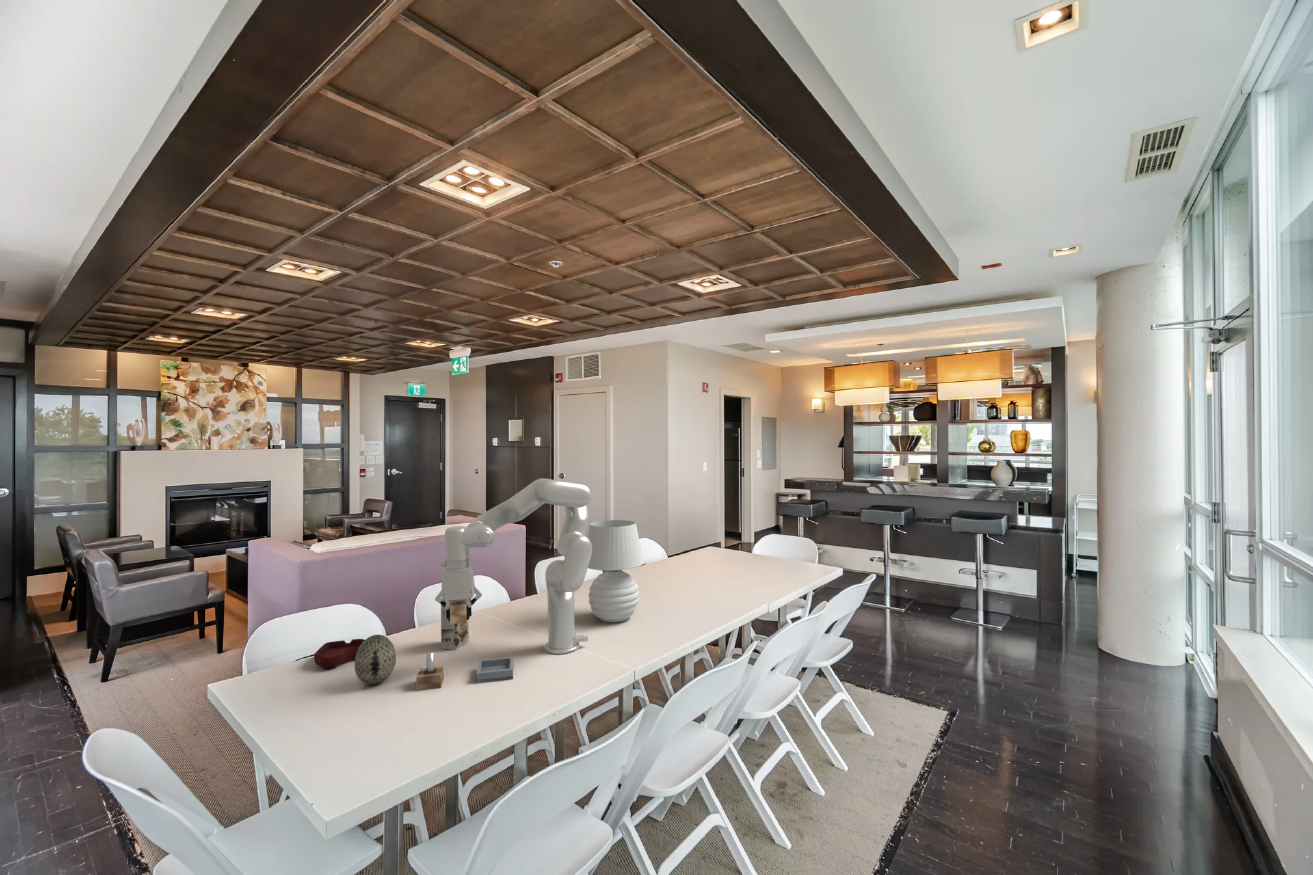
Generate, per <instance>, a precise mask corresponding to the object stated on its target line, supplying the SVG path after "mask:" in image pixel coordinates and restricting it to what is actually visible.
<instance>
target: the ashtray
mask: <svg viewBox="0 0 1313 875" xmlns="http://www.w3.org/2000/svg"><path fill="white" fill-rule="evenodd" d="M365 640H366V639H364V638H352V639H351V640H350V642H346V640H343V639H342V640H337V641H336V640H335V641H334V640H333V641H328V642H327V641H326V643H324V644H322V645H321V646H320V647H319V648H318V649H317V651H315V652H314V655H313V657H314V662H315V664H316V665H317V667H318V666H319V667H321V668H324V669H325V671H328V670H329V671H330V670H334V669H335V668H336V667H337V666H339V665H341V664H346V663H349V662H351V661H353V660H355V657H356V653H357V651H358V649H359V647H360V645H361V644H362V643H363V642H364V641H365Z"/></svg>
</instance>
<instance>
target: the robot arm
mask: <svg viewBox="0 0 1313 875" xmlns="http://www.w3.org/2000/svg"><path fill="white" fill-rule="evenodd" d="M592 497H593V496H592V491H591V490H590V488H589V487H588V486H587V485H585V484H584V483H583V484H581V483H576V482H571V481H570V482H567V481H560V480H556V479H551V478H545V477H544V478H543V477H542V478H538V479H536V480H534V481H532V482H531V483H529V484H528V485H527V486H526V487H524V488H523V489H521V490H520V491H518V492H517V493H515V494H514V495H513V496H511V497H510V498H509V499H507V500H505V501H504V502H501V503H500V504H498V505H496V506H494V507H491V508H490V509H489V510H487V511H485V512H483V513H482V514H480V515H479V516H478V517H476V518H475V519H473V520H472V521H471V522H470V523H469V524H468V525H467V526H463V525H458V526H457V525H456V526H454V525H453V526H450V527H447V528H446V529H445V531H444V550H445V551H444V552H445V554H444V555H445V556H444V557H445V560H444V561H441V562H440V566H441V567H444V568H443V570H442V576H441V590H440V591H439V593H438V594H437V595H436V596H435V598H434V601H435V602H437V603H438V604H440V606H441V605H442V606H443V607H445V609H446V617H447V618H448V620H449V621H450V604H451V601H456V600H466V602H467V608H466V612H467V620H470V617H472V614H473V613H472V606H473V605H474V604H476V602H477V601H478V600H479V599H481V598H482V596H483V593H482V592H481V591H479V590H478V588H477V587H476V586H475V578H474V577H475V576H474V571H473V567H472V566H471V563H470V561H471V560H470V556H471V555H470V549H471V548H478V549H479V548H480V549H483V548H487V547H489V546H490V545H492V544H493V542H494V541H495V531H497V530H498V529H500V528H501V527H503V526H505V525H510V524H512V523H517V522H519V521H522V520H525V518H527V517H528V516H529V515H530V514H532V513H533V512H534V511H536V510H537V509H539V508H540V507H541V506H543V505H544V504H547V505H548V504H549V505H552V506H553V505H554V506H559V507H564V510H565V517H564V522H563V525H562V528H561V530H560V534H559V538H558V542H557V545H556V548H557V553H559V554H560V555H561V557H564V559H556V560H552V561H551V562H550V563H549V564H548V565H547V567H546V568H545V585H546V593H547V594H546V595H547V633H548V634H547V635H548V636H547V639H548V640H547V642H546V643H544V646H543V649H544V651H545V652H547V653H549V654H556V655H560V654H561V655H562V654H563V655H564V654H569V653H572V652H575V651H576V650H578V649H579V648H580V642H588V641H589V640H588V635H584V634H580V635H579V634H577V633H576V631H575V630H576V628H575V593H574V592H577V591H578V590H580V588H581V587H582V585H583V583H584V580H585V579H586V575H587V573H588V572H587V571H588V569H589V568H588V565H589V562H590V559H591V555H592V544H591V541H590V540H589V539H588V536H586V532H587V528H588V524H589V518H590V514H589V513H590V512H589V509H588V508H589V507H588V505H589V504H590V502H591V499H592Z"/></svg>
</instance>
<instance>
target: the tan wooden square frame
mask: <svg viewBox="0 0 1313 875" xmlns="http://www.w3.org/2000/svg"><path fill="white" fill-rule="evenodd" d="M417 672H418V673H417V675H416V680H415V681H416V682H415V684H416V691H418V692H419V691H425V690H434V689H442V686H443V682H444V679H445V678H444V677H445V674H444V672H445V669H444V665H440V666H434V674H427V668H426V667H422V668H419V670H418V671H417Z"/></svg>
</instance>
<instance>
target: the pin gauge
mask: <svg viewBox="0 0 1313 875" xmlns="http://www.w3.org/2000/svg"><path fill="white" fill-rule="evenodd" d="M425 654H426V656H425V657H426V658H425V659H426V663H425V664H426V665H425V666H426V667H425V668H427V674H434V667H435V652H434V651H433V650H430V651H427V652H426V653H425Z"/></svg>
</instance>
